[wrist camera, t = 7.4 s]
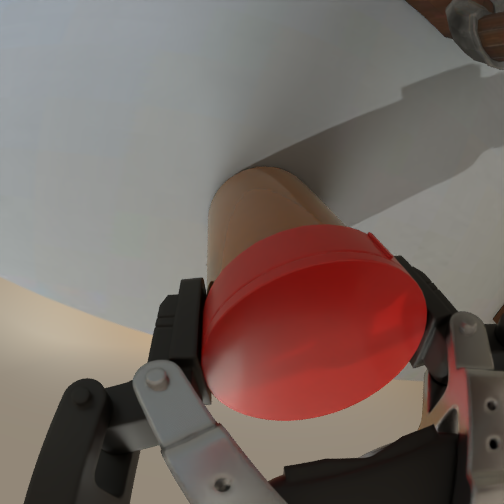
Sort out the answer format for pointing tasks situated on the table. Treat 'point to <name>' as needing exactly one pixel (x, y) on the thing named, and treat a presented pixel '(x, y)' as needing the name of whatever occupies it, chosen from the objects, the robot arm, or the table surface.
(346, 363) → the lid
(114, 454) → the robot arm
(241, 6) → the table surface
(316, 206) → the jar
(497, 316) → the tray
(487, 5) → the mug
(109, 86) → the table surface
